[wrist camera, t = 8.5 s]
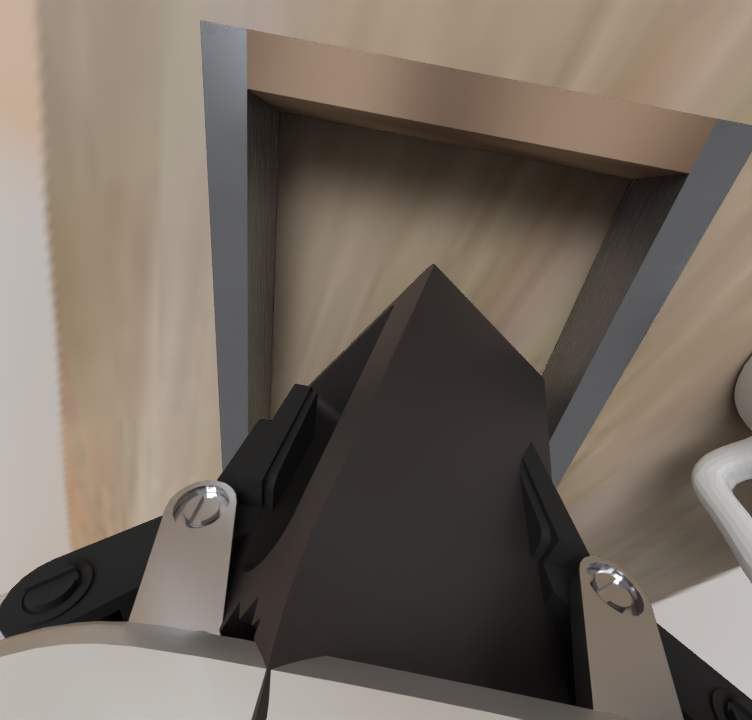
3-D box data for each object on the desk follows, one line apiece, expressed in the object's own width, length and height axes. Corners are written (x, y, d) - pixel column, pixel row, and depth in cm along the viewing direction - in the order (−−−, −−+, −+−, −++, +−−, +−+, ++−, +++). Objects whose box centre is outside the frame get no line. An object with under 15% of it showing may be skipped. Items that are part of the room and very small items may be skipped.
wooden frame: (689, 143, 10) (765, 128, 8) (485, 547, 19) (495, 592, 17) (244, 58, 11) (200, 20, 8) (247, 500, 20) (225, 538, 17)
